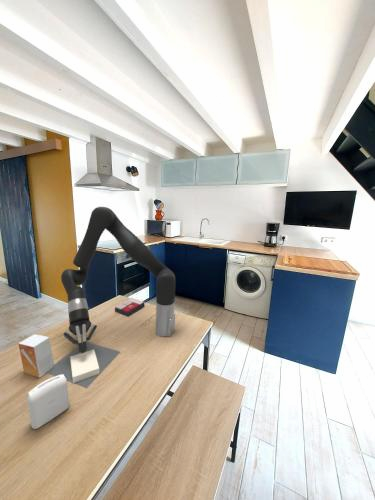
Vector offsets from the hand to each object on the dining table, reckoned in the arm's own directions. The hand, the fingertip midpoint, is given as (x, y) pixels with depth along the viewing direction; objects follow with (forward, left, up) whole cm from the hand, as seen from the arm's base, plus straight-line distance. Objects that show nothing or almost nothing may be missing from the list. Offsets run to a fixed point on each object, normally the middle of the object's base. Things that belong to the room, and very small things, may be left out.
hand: (83, 352), depth 83 cm
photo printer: (-5, +19, -7) cm, 21 cm away
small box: (+14, +8, -6) cm, 17 cm away
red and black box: (+9, -47, -7) cm, 49 cm away
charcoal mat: (+1, -2, -6) cm, 7 cm away
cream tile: (+4, -3, -5) cm, 7 cm away
